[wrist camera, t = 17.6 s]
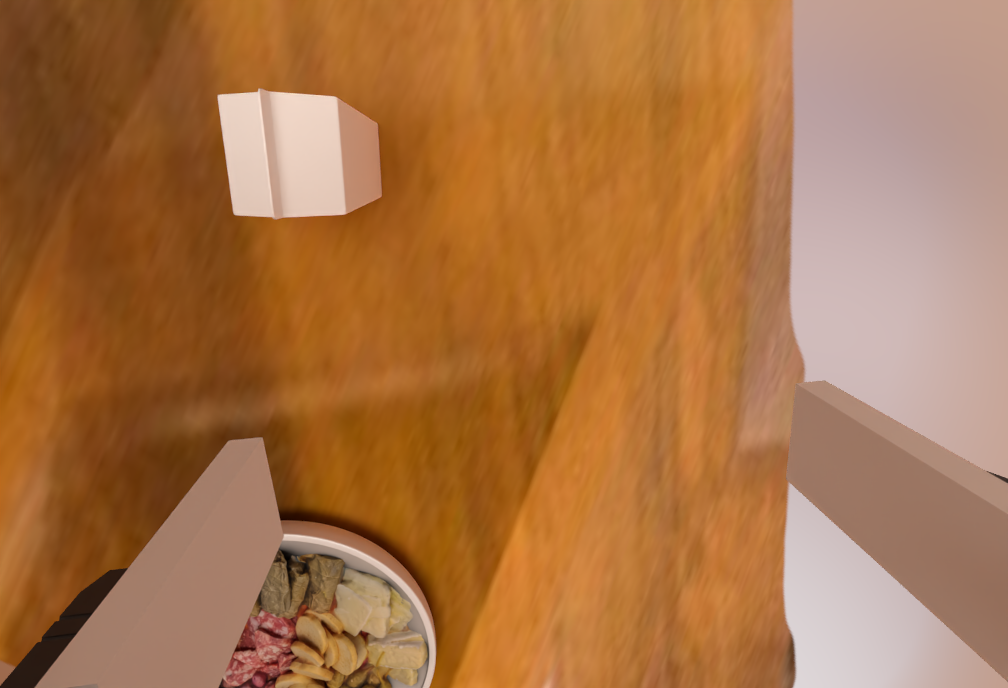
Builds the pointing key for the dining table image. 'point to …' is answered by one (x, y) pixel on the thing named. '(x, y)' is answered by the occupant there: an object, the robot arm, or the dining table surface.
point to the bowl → (334, 618)
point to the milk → (298, 154)
